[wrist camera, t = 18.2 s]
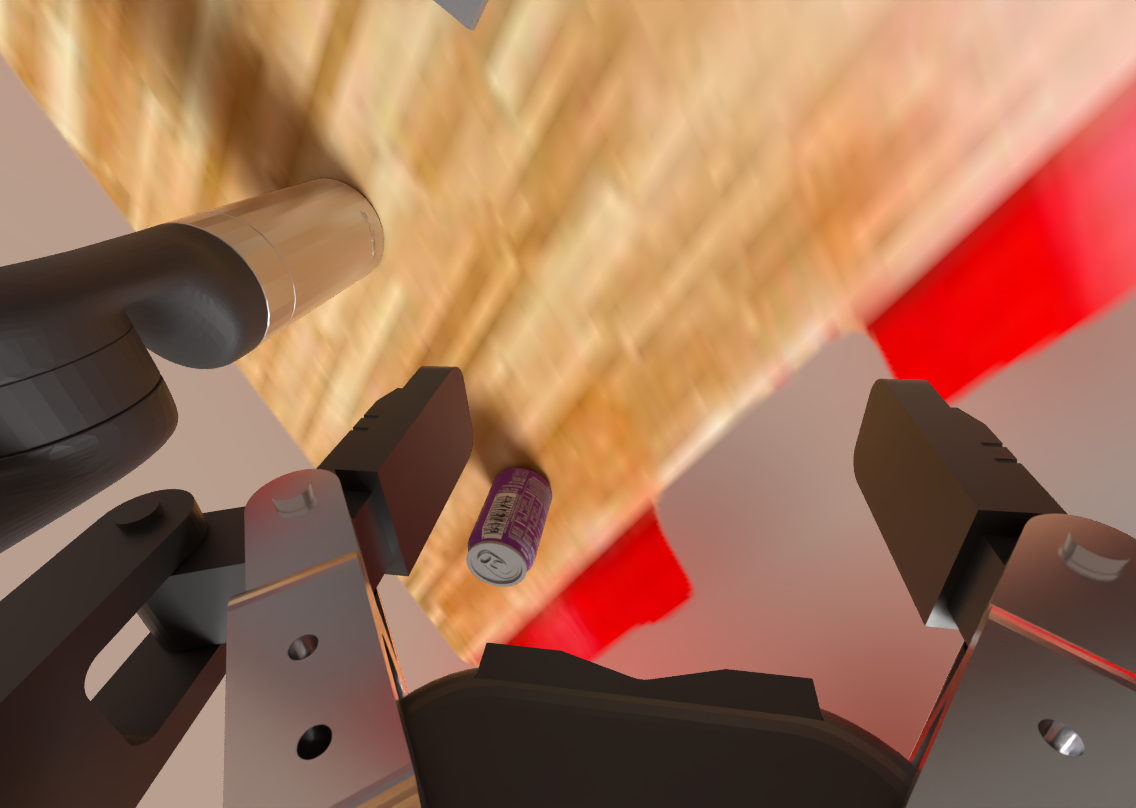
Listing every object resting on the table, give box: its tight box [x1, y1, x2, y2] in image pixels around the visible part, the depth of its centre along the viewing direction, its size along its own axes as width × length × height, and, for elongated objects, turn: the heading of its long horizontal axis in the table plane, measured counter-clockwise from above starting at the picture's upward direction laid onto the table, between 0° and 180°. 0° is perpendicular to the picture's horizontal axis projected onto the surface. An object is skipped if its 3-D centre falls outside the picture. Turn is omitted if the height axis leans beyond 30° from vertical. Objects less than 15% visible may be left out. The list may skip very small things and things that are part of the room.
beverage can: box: [467, 468, 552, 587], centre depth 58 cm, size 7×7×12 cm
